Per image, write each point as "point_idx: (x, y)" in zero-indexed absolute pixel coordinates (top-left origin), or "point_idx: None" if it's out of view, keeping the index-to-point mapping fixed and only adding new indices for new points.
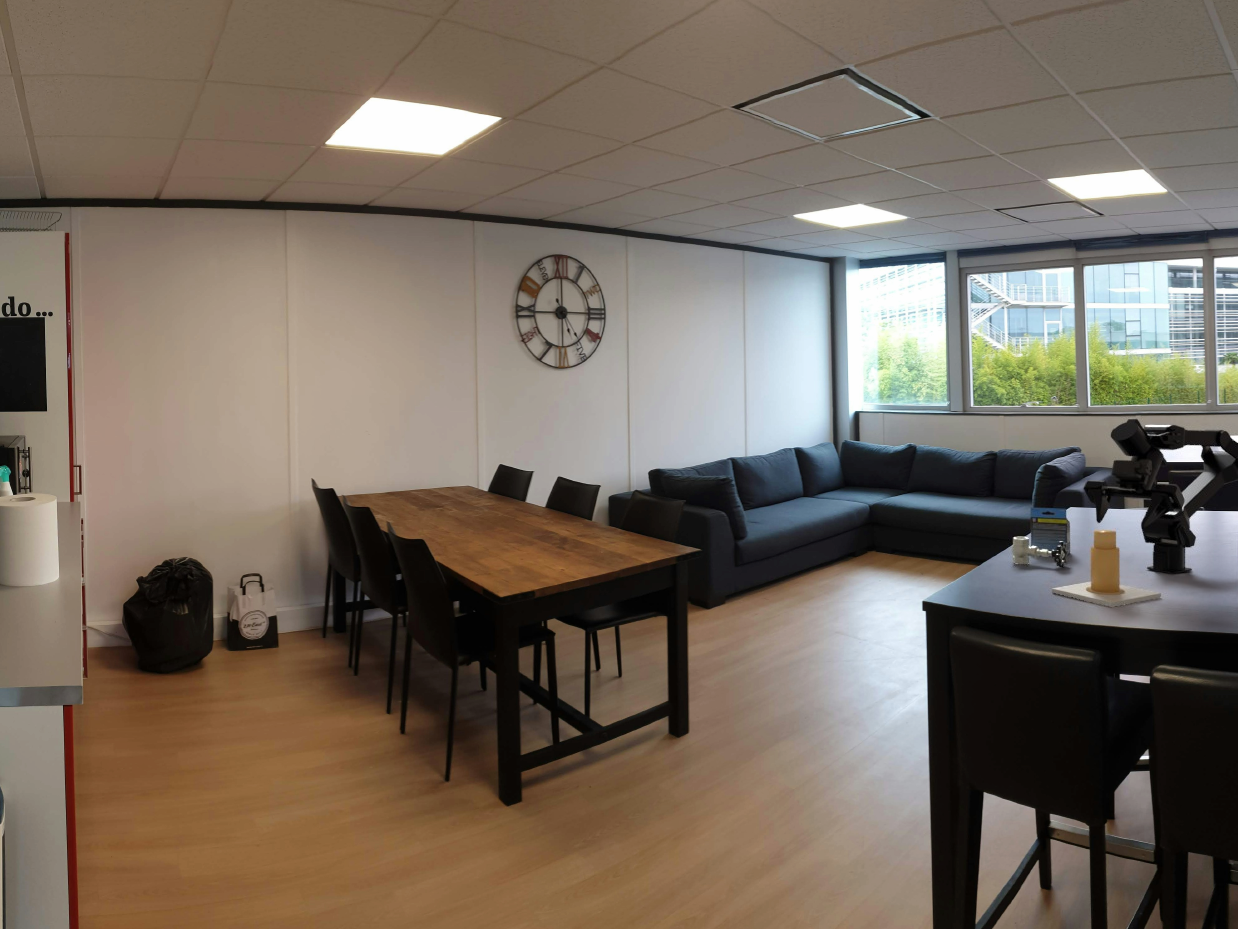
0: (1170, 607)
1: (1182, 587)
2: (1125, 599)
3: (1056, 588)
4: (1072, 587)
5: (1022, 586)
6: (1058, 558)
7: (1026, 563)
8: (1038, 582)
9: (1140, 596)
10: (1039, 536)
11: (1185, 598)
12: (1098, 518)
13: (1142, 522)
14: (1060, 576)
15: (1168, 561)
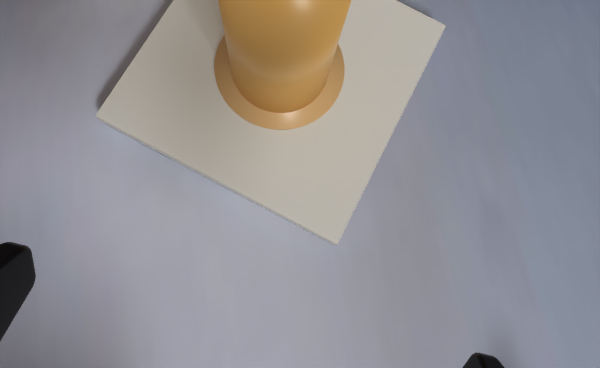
0: (67, 5)
1: (30, 358)
2: None
3: (433, 32)
4: (390, 70)
5: (554, 90)
6: None
7: None
8: (533, 179)
9: (157, 34)
10: None
11: (21, 158)
12: (487, 366)
13: (10, 252)
14: (502, 335)
15: None
